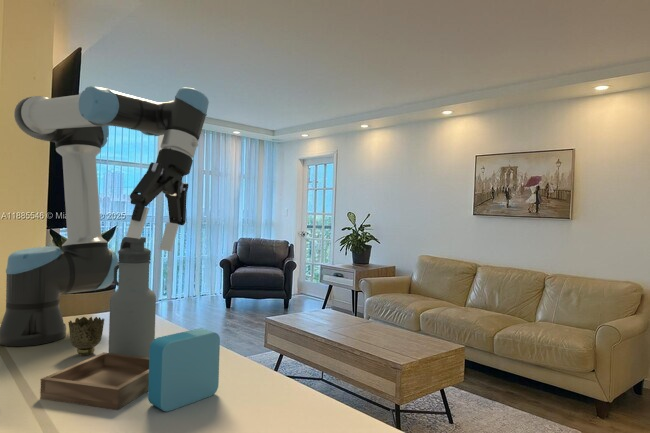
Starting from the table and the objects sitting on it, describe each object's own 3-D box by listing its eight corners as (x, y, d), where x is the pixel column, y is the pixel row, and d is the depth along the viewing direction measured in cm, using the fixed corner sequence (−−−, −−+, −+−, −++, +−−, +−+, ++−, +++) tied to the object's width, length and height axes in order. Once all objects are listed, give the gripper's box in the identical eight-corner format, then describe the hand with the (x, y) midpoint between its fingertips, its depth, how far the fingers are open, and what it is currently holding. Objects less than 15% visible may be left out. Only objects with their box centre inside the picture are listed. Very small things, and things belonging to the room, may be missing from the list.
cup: (88, 360, 101) (89, 325, 101) (60, 357, 102) (60, 322, 102) (110, 350, 108) (111, 317, 108) (83, 347, 110) (84, 315, 109)
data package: (204, 387, 88) (206, 326, 88) (218, 393, 85) (220, 331, 85) (147, 406, 78) (149, 338, 78) (161, 414, 76) (163, 344, 76)
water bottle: (102, 355, 104) (105, 236, 104) (145, 348, 111) (148, 235, 110) (115, 368, 96) (119, 238, 96) (160, 359, 103) (164, 238, 103)
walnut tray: (103, 368, 96) (103, 352, 96) (169, 377, 92) (170, 360, 92) (40, 398, 80) (40, 378, 80) (117, 409, 77) (117, 389, 77)
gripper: (165, 131, 89) (134, 234, 84) (212, 175, 113) (190, 257, 108) (131, 127, 90) (99, 228, 85) (185, 171, 114) (162, 252, 109)
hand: (150, 244), depth 96 cm, fingers open, 13 cm apart
